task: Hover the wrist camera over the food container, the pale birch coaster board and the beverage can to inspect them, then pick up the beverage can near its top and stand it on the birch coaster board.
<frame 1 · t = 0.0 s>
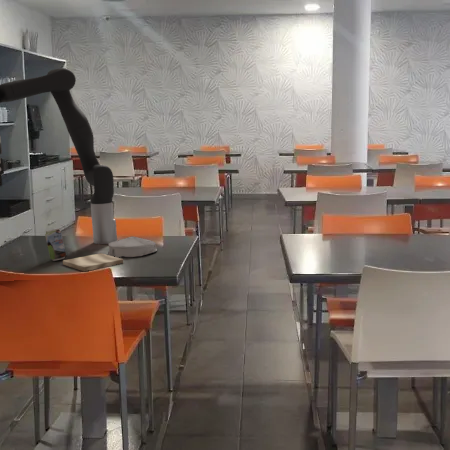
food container: (132, 253, 251), on the table
coaster board: (93, 263, 233), on the table
beverage can: (57, 260, 242), on the table
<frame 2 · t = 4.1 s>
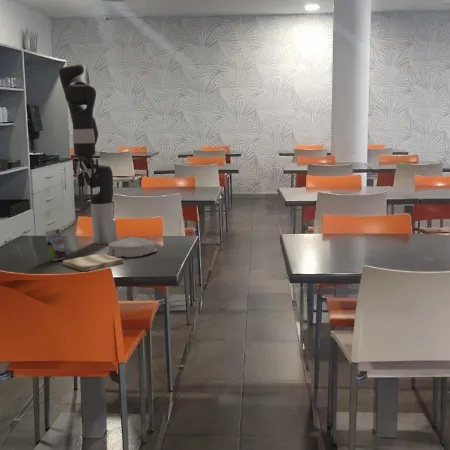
hand: (87, 187, 228), 28 cm above the table, tool pointing down, fingers open, 8 cm apart
nothing on the table moved.
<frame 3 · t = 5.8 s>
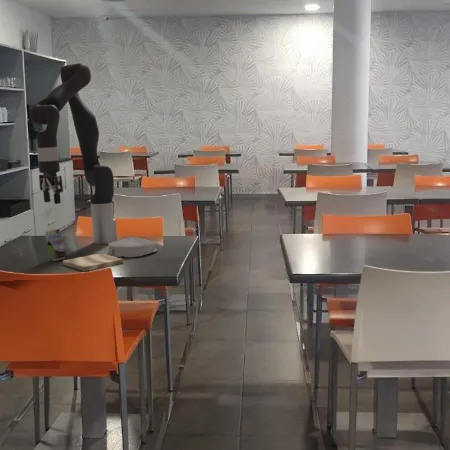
hand: (52, 202, 238), 22 cm above the table, tool pointing down, fingers open, 8 cm apart
nothing on the table moved.
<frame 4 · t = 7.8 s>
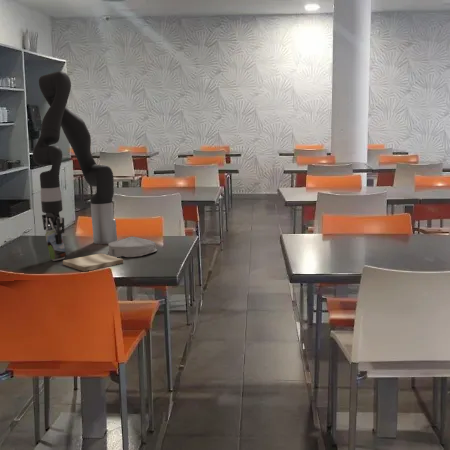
hand: (54, 242, 241), 7 cm above the table, tool pointing down, fingers closed on beverage can, 6 cm apart
beverage can: (57, 260, 242), on the table, touching gripper
everything else where it was.
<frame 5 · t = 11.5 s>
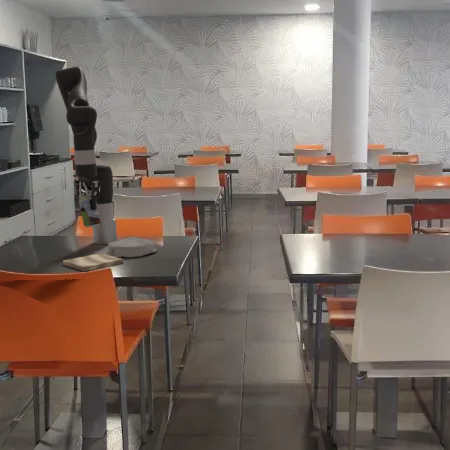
hand: (88, 208, 230), 20 cm above the table, tool pointing down, fingers closed on beverage can, 6 cm apart
beverage can: (90, 227, 231), point 14 cm above the table, touching gripper
everything else where it was.
when the fingers open (9 cm above the table, at t = 14.0 s): beverage can stays where it is, resting on coaster board.
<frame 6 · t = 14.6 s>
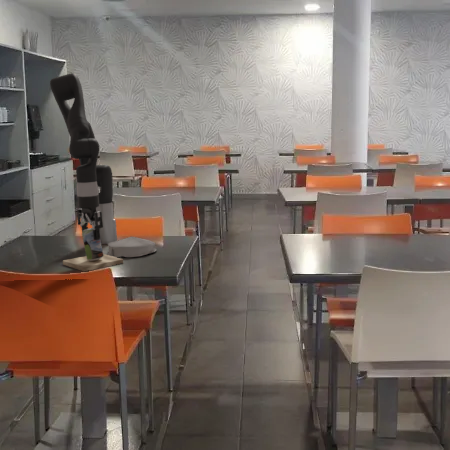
hand: (91, 238, 232), 10 cm above the table, tool pointing down, fingers open, 8 cm apart
beverage can: (93, 260, 233), point 1 cm above the table, touching coaster board
everything else where it was.
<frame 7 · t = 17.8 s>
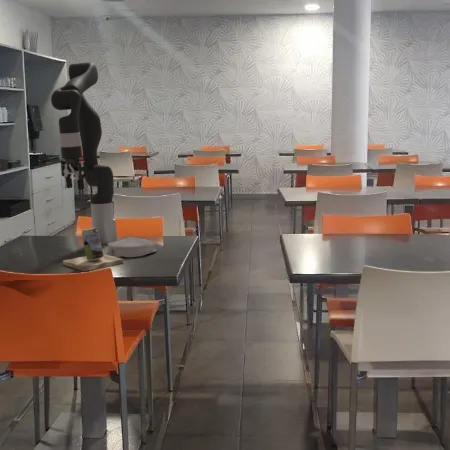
hand: (75, 188, 237), 27 cm above the table, tool pointing down, fingers open, 8 cm apart
nothing on the table moved.
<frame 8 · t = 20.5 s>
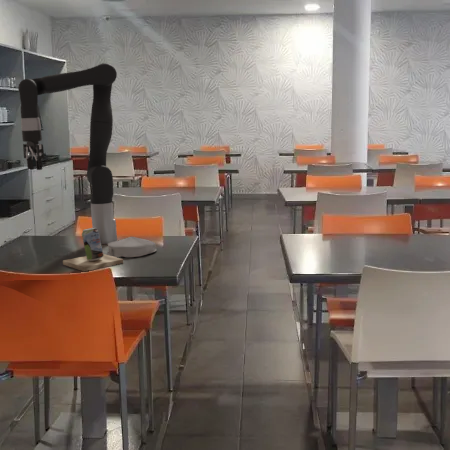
hand: (34, 169, 260), 33 cm above the table, tool pointing down, fingers open, 8 cm apart
nothing on the table moved.
at the end: beverage can inside the target area on the coaster board (0.7 cm from its centre), point 1.3 cm above the coaster board's base; beverage can tilted 0°; the gripper is holding nothing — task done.
